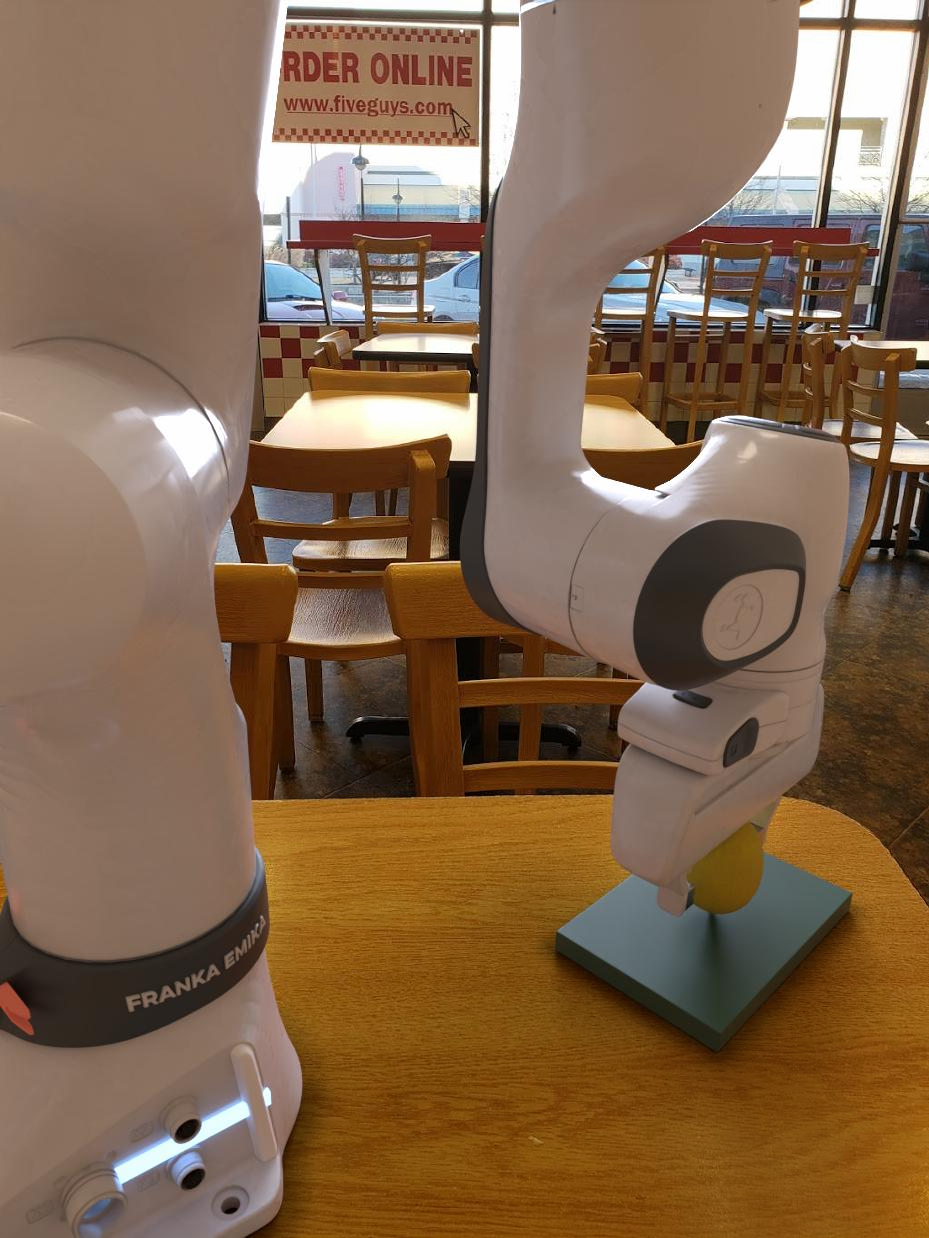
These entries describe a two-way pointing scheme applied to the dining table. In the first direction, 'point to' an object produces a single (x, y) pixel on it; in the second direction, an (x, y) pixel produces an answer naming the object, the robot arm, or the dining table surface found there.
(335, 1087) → the dining table surface
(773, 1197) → the dining table surface
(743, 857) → the lemon
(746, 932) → the cutting board
